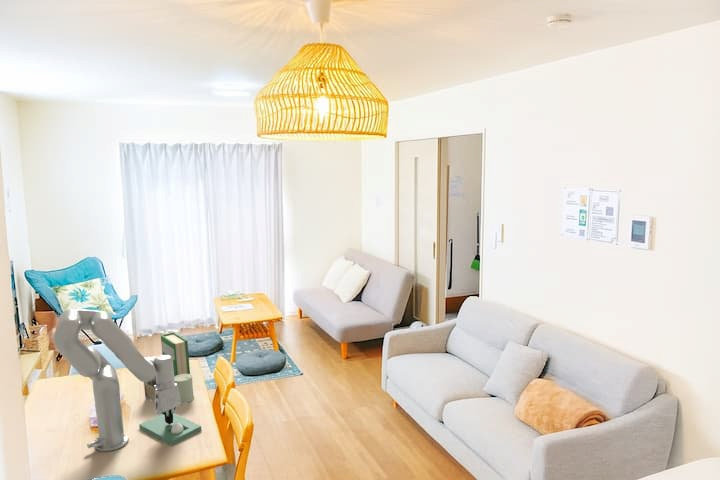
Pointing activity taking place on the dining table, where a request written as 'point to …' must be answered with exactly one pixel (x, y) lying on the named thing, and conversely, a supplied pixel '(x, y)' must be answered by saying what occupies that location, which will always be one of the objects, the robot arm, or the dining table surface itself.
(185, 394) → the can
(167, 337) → the hardback book
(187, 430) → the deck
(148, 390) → the coffee box
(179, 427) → the ball
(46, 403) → the dining table surface
